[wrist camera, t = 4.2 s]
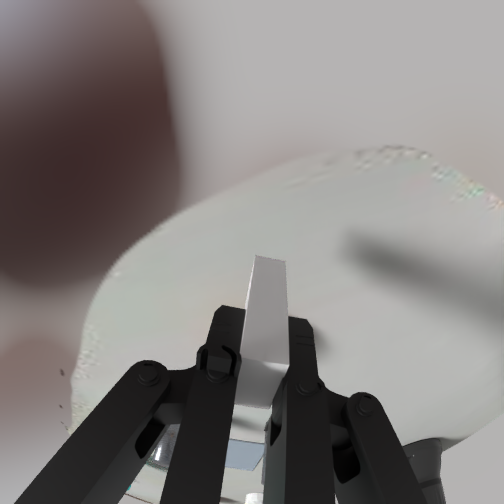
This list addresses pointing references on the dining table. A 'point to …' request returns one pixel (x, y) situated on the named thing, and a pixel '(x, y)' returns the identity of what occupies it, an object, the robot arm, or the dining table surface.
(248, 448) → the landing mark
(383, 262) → the dining table surface
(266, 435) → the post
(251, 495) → the white cup
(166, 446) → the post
